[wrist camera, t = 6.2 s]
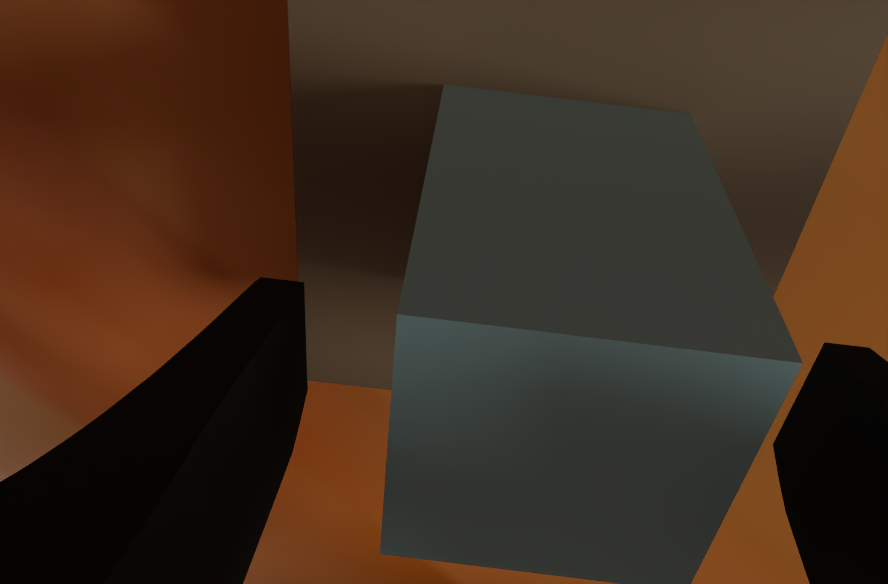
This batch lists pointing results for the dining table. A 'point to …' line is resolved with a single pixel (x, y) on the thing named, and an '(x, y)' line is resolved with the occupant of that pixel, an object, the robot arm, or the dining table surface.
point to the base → (552, 75)
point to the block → (575, 345)
